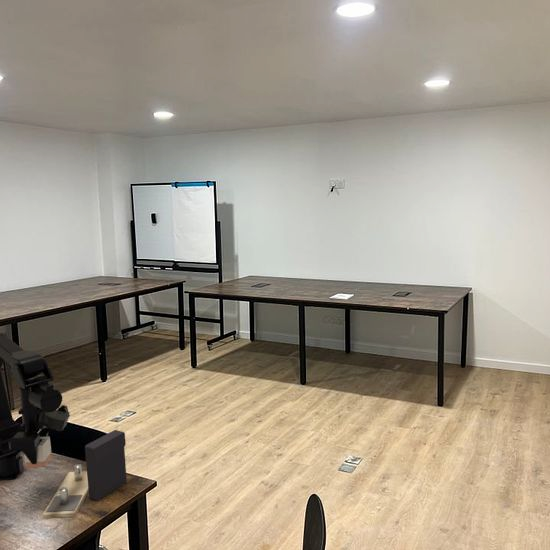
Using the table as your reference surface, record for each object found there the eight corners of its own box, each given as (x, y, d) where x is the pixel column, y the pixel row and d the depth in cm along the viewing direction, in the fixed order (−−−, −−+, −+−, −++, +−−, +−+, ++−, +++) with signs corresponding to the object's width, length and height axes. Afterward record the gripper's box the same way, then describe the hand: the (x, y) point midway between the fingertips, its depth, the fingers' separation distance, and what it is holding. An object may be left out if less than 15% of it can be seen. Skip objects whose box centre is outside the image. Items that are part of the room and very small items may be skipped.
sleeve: (25, 467, 141) (23, 446, 140) (32, 458, 146) (30, 437, 145) (44, 466, 141) (42, 445, 140) (51, 457, 146) (49, 436, 145)
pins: (59, 506, 138) (58, 491, 138) (76, 477, 152) (74, 464, 152) (67, 505, 138) (66, 491, 138) (83, 477, 152) (82, 464, 152)
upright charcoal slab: (117, 478, 153) (113, 428, 151) (128, 482, 151) (125, 431, 149) (86, 498, 143) (82, 445, 141) (98, 502, 141) (94, 448, 139)
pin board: (42, 518, 135) (42, 514, 135) (69, 475, 156) (69, 471, 155) (75, 516, 135) (75, 512, 135) (97, 473, 156) (97, 469, 156)
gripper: (51, 415, 132) (57, 475, 135) (75, 388, 151) (79, 441, 153) (5, 418, 132) (11, 477, 134) (34, 390, 150) (39, 443, 152)
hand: (38, 458), depth 143 cm, fingers closed on sleeve, 5 cm apart
